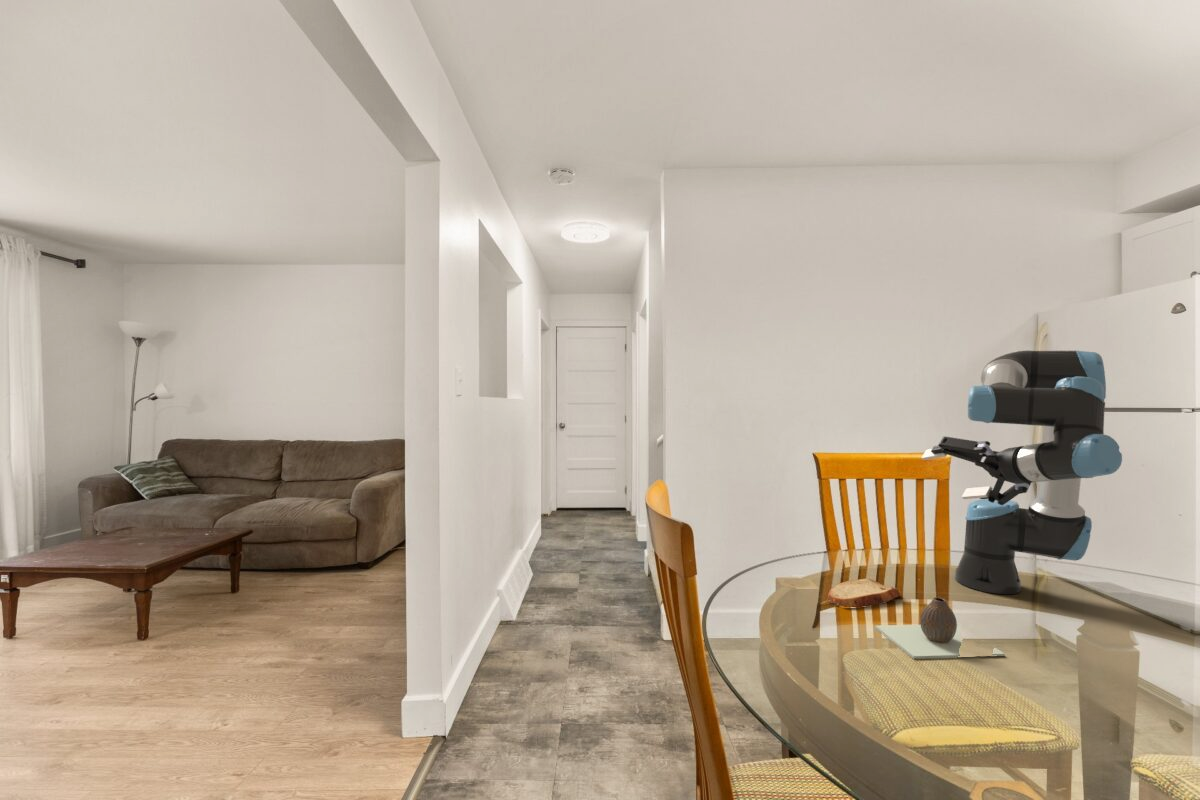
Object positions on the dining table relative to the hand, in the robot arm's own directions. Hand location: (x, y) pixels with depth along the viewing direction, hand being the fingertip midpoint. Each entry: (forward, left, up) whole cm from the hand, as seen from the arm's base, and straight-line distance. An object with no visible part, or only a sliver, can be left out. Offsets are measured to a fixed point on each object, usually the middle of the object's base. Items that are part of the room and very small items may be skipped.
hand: (944, 474), depth 142 cm
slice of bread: (+13, -10, -35) cm, 38 cm away
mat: (+9, +14, -34) cm, 38 cm away
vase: (+9, +14, -34) cm, 37 cm away
